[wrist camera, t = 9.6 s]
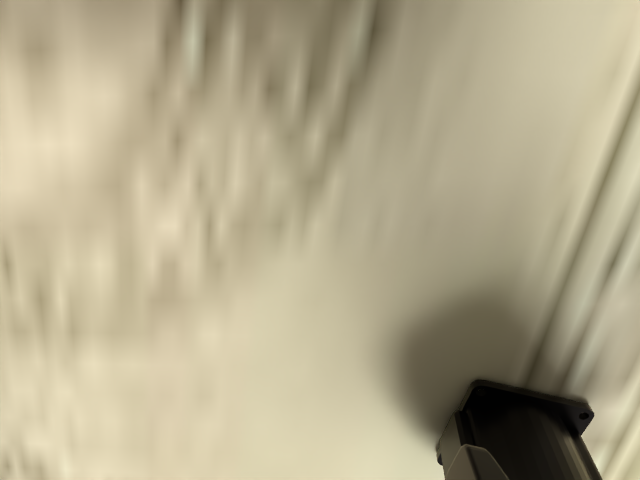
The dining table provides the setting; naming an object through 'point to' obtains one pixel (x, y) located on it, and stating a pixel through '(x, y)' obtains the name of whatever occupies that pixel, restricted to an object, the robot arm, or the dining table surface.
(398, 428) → the dining table surface
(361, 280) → the dining table surface
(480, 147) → the dining table surface
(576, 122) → the dining table surface
